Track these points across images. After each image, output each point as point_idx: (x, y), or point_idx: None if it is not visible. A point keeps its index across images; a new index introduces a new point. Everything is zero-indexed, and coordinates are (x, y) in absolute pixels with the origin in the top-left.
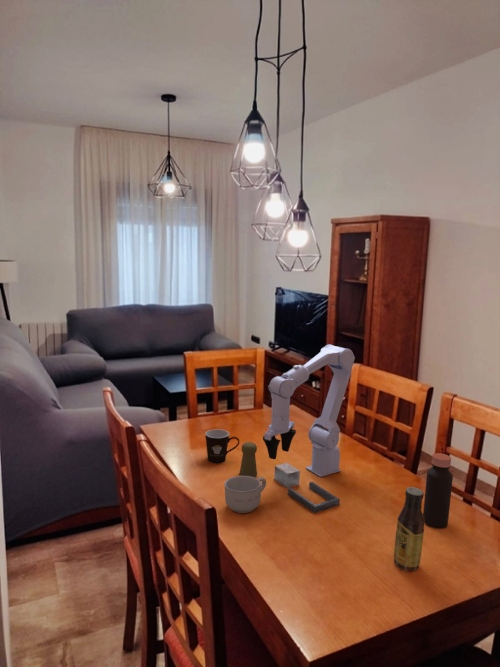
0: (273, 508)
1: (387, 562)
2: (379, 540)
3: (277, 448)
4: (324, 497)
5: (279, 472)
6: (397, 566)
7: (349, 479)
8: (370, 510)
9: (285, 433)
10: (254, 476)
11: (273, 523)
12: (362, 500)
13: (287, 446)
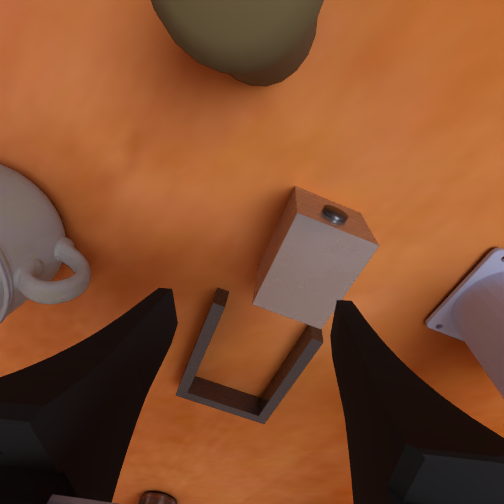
0: (109, 292)
1: (144, 484)
2: (191, 472)
3: (140, 407)
4: (276, 374)
5: (279, 241)
6: (141, 496)
7: (455, 390)
8: (290, 451)
9: (371, 478)
10: (252, 84)
11: (55, 325)
12: (329, 434)
13: (337, 368)
